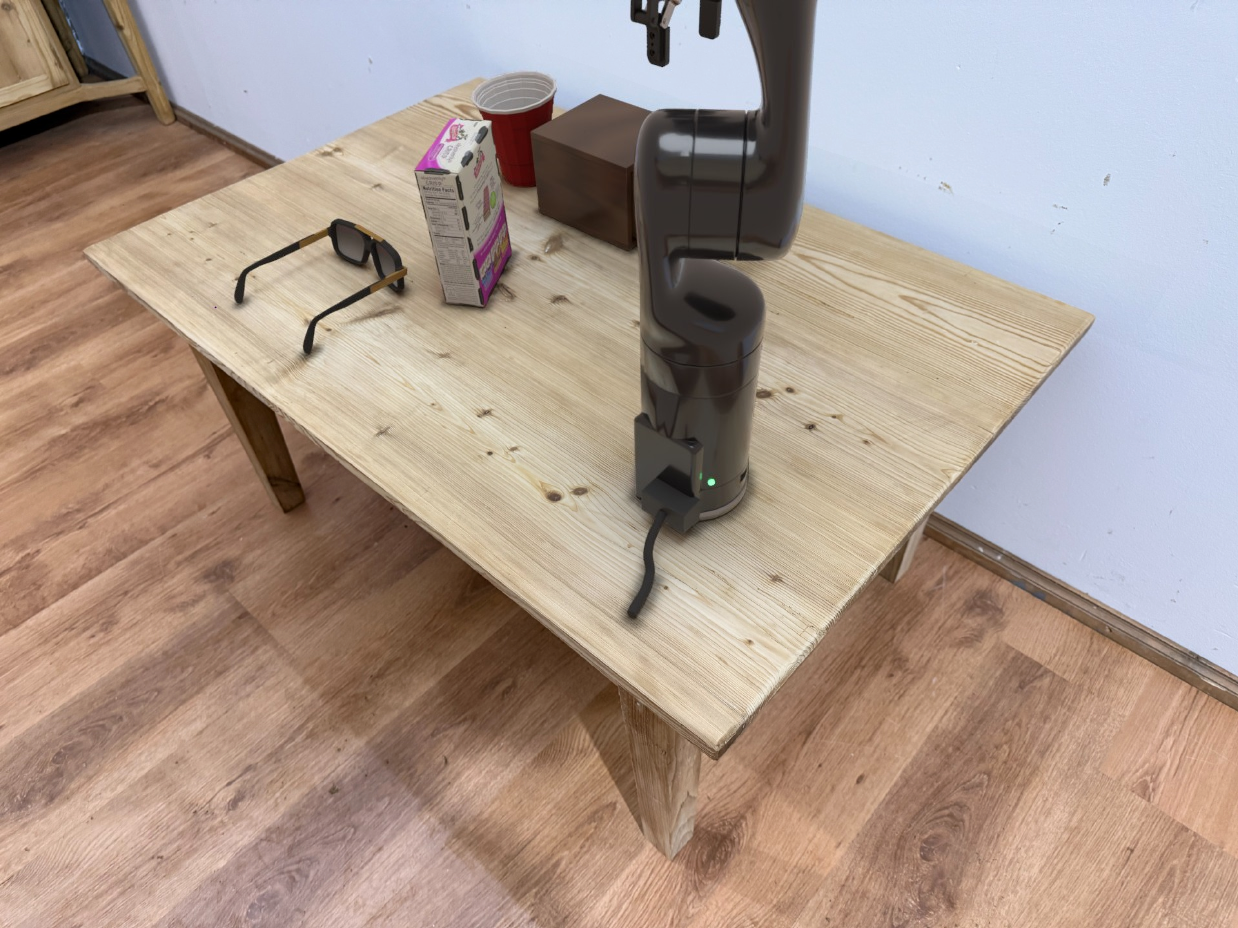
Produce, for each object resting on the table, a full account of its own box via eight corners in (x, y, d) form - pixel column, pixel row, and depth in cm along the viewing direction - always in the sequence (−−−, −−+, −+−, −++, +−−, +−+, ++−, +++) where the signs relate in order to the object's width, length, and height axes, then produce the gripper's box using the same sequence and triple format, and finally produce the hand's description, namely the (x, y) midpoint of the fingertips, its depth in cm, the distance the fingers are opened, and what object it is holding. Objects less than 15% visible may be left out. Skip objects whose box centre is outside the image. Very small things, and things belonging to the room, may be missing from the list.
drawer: (786, 240, 100) (795, 170, 93) (730, 285, 94) (736, 214, 88) (664, 193, 108) (665, 126, 101) (606, 232, 102) (603, 163, 96)
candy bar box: (473, 249, 102) (449, 116, 90) (513, 253, 101) (494, 119, 89) (441, 305, 95) (411, 167, 83) (484, 309, 94) (459, 171, 82)
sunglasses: (236, 304, 96) (220, 266, 92) (348, 246, 103) (336, 209, 100) (306, 356, 89) (291, 317, 86) (420, 290, 97) (411, 252, 93)
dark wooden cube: (691, 206, 107) (694, 125, 99) (628, 251, 101) (626, 168, 93) (603, 172, 114) (599, 93, 106) (539, 212, 107) (530, 131, 100)
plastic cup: (477, 165, 116) (462, 76, 107) (553, 151, 118) (545, 63, 109) (492, 204, 109) (478, 112, 100) (574, 189, 111) (567, 98, 102)
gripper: (702, -160, 81) (696, 21, 92) (605, -127, 73) (611, 65, 85) (769, -150, 77) (753, 37, 89) (674, -115, 70) (670, 84, 82)
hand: (684, 50), depth 87 cm, fingers open, 8 cm apart
